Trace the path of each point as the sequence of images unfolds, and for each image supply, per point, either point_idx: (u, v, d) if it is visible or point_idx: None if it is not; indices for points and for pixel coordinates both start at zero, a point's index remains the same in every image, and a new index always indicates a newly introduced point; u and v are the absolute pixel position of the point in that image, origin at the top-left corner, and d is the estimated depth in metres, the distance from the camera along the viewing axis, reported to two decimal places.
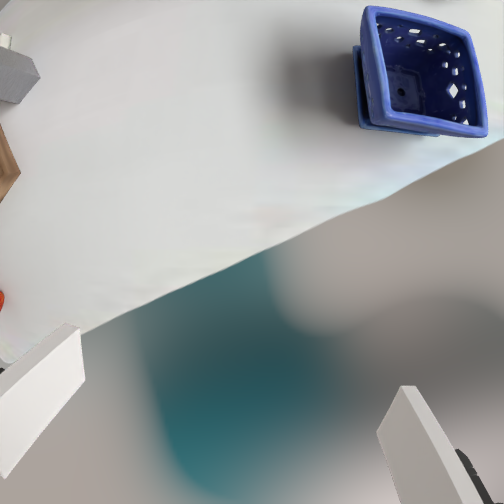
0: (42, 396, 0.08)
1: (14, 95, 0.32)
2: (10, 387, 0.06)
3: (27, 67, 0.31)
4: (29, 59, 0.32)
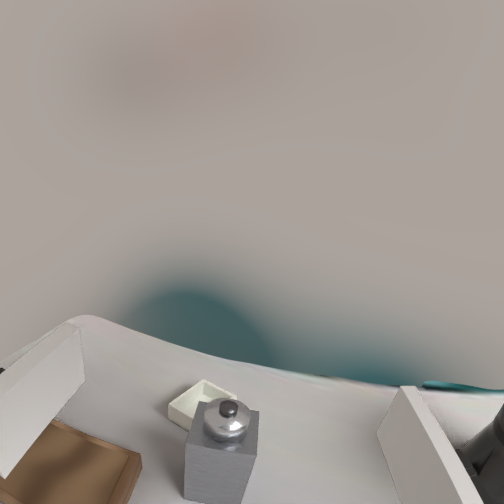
0: (42, 396, 0.08)
1: (198, 491, 0.23)
2: (10, 387, 0.06)
3: None
4: None
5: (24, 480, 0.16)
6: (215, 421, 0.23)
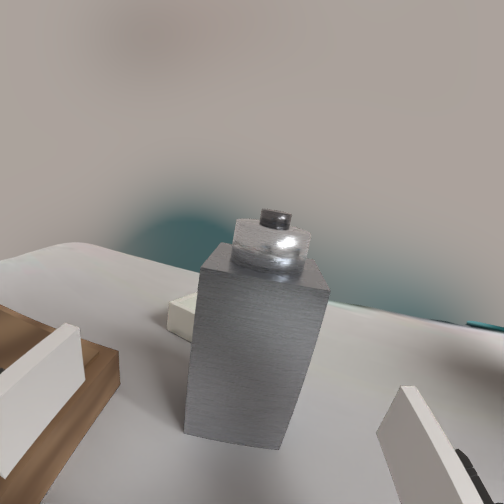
0: (42, 396, 0.08)
1: (211, 410, 0.16)
2: (10, 387, 0.06)
3: None
4: None
5: None
6: (256, 227, 0.15)
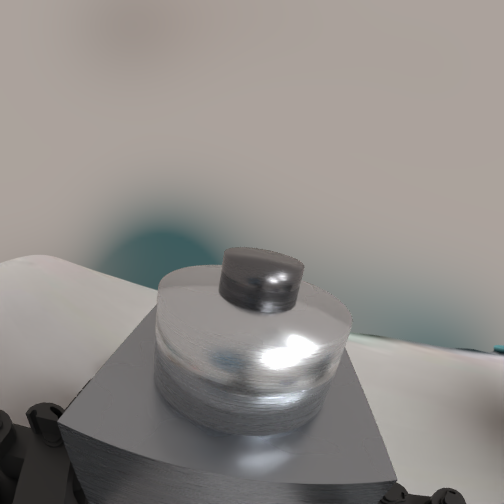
0: None
1: None
2: None
3: None
4: None
5: None
6: (198, 316, 0.05)
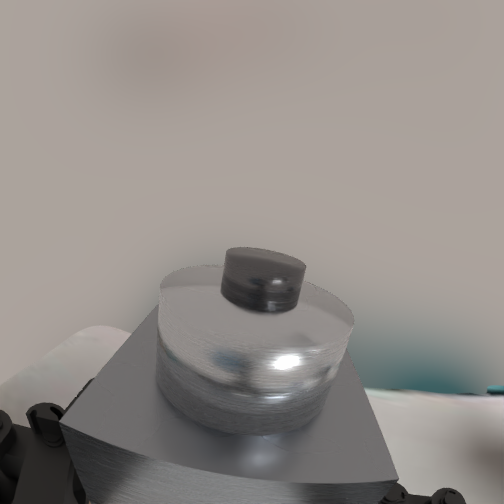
0: None
1: None
2: None
3: None
4: None
5: None
6: (201, 317, 0.05)
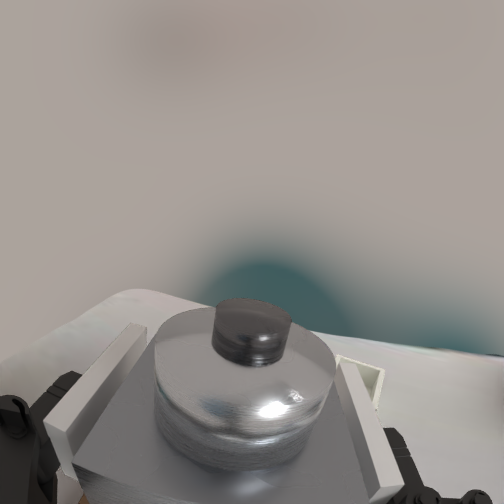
0: None
1: None
2: (96, 389, 0.08)
3: None
4: None
5: None
6: (193, 376, 0.05)
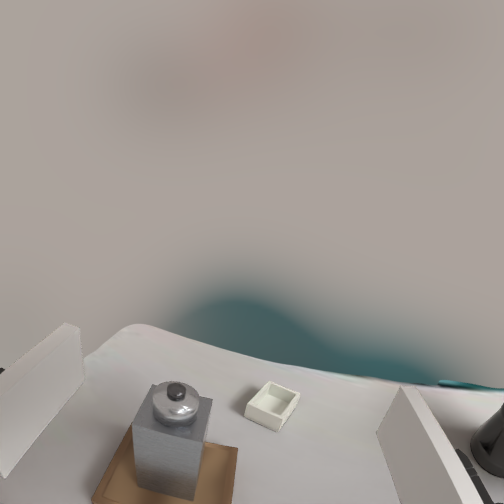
0: (42, 396, 0.08)
1: (150, 479, 0.23)
2: (10, 387, 0.06)
3: None
4: (201, 463, 0.28)
5: (137, 489, 0.23)
6: (161, 403, 0.22)
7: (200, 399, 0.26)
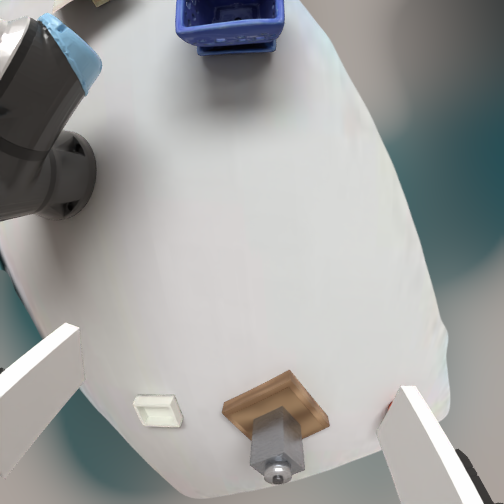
0: (42, 396, 0.08)
1: (297, 429, 0.45)
2: (10, 387, 0.06)
3: (272, 420, 0.45)
4: (257, 421, 0.47)
5: (301, 422, 0.48)
6: (289, 477, 0.35)
7: (256, 467, 0.38)
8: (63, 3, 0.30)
